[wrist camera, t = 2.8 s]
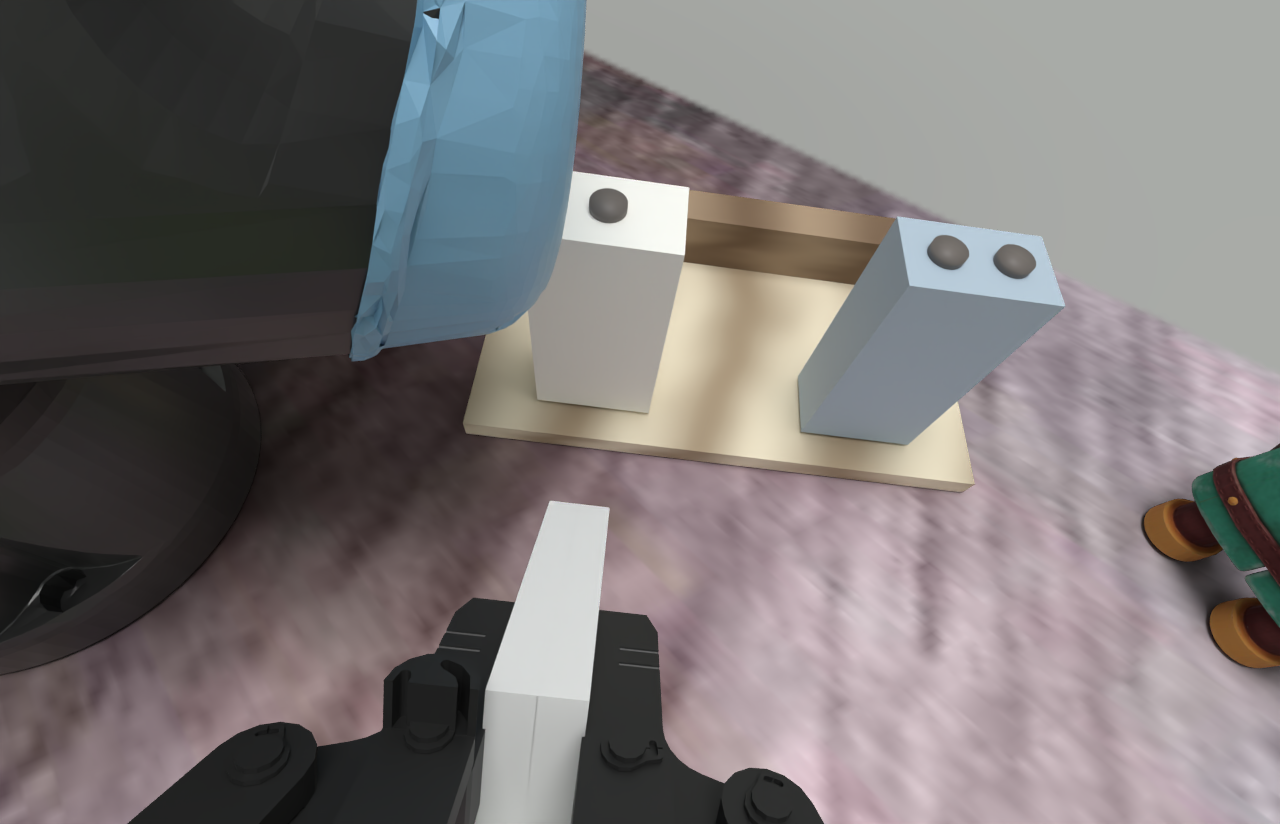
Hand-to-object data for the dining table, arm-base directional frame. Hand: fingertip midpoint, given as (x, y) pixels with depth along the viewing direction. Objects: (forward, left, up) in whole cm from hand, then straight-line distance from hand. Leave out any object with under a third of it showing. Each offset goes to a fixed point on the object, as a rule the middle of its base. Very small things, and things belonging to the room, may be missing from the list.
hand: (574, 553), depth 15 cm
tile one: (0, +11, -8) cm, 13 cm away
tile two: (+12, +11, -8) cm, 18 cm away
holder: (+6, +14, -10) cm, 18 cm away
